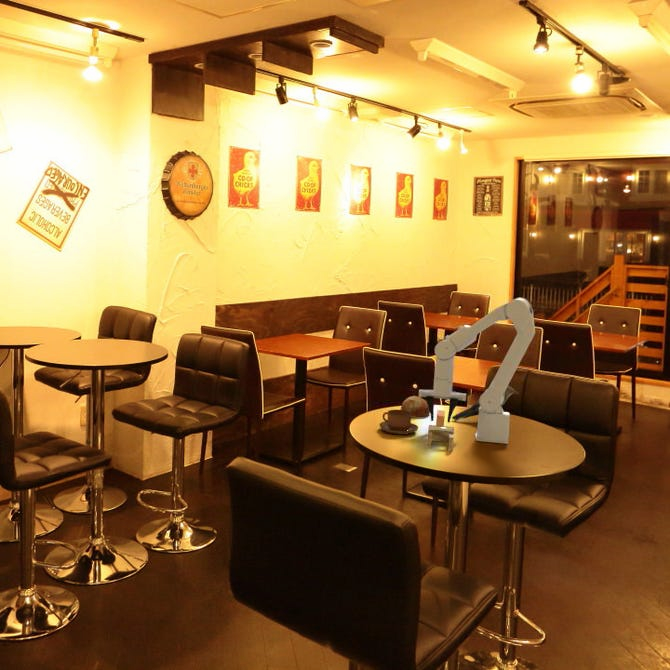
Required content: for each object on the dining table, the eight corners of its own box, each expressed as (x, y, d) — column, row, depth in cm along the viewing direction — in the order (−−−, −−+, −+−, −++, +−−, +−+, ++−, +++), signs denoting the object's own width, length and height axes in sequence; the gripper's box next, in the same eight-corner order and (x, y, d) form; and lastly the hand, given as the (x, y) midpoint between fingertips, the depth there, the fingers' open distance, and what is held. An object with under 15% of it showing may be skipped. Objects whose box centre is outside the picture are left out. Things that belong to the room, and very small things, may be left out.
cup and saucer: (374, 433, 220) (375, 414, 220) (384, 424, 232) (385, 406, 231) (412, 439, 217) (414, 419, 216) (421, 429, 228) (422, 410, 227)
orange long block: (443, 429, 230) (445, 410, 229) (443, 435, 222) (444, 416, 221) (436, 428, 230) (437, 410, 229) (435, 434, 222) (436, 415, 221)
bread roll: (405, 419, 254) (397, 399, 253) (433, 410, 252) (424, 388, 251) (404, 427, 244) (395, 405, 243) (432, 416, 242) (424, 394, 242)
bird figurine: (454, 422, 235) (489, 372, 233) (448, 415, 245) (483, 367, 243) (487, 445, 236) (522, 395, 234) (480, 437, 246) (515, 389, 244)
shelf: (452, 439, 217) (454, 422, 217) (452, 451, 206) (454, 432, 205) (428, 437, 219) (429, 420, 218) (426, 448, 207) (427, 430, 206)
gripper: (467, 377, 226) (463, 420, 228) (420, 374, 229) (417, 415, 230) (467, 382, 219) (463, 425, 221) (419, 378, 222) (416, 421, 224)
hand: (440, 421), depth 225 cm, fingers open, 4 cm apart
